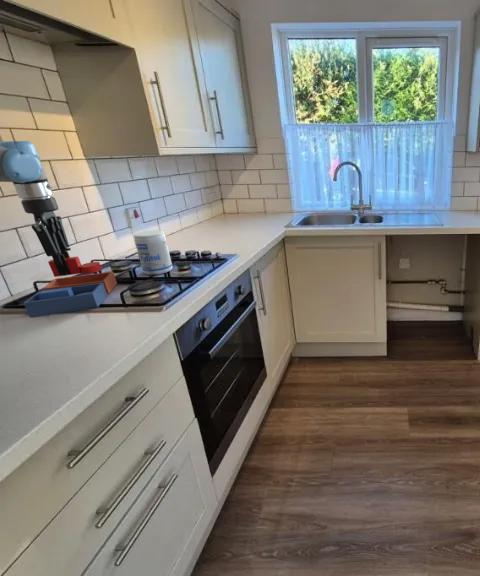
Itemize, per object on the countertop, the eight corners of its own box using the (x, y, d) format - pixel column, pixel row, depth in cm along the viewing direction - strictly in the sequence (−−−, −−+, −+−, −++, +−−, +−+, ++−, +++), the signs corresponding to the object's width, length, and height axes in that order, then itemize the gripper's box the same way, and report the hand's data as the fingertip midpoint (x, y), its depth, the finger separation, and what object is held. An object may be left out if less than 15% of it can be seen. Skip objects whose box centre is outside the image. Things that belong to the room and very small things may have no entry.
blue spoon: (42, 311, 104) (35, 295, 102) (50, 304, 109) (44, 289, 107) (92, 304, 108) (86, 288, 106) (98, 297, 113) (93, 282, 111)
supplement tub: (142, 277, 130) (130, 237, 124) (145, 269, 137) (134, 231, 132) (173, 272, 133) (162, 233, 128) (174, 265, 141) (164, 228, 136)
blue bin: (29, 317, 102) (23, 303, 100) (44, 304, 110) (39, 291, 108) (97, 307, 107) (92, 293, 105) (107, 295, 115) (102, 282, 113)
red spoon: (52, 278, 112) (45, 263, 110) (59, 273, 116) (53, 258, 114) (98, 272, 115) (93, 257, 113) (104, 267, 120) (98, 252, 118)
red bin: (47, 302, 112) (41, 288, 110) (60, 291, 119) (55, 278, 118) (109, 293, 117) (104, 280, 115) (117, 283, 125) (113, 271, 123)
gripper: (40, 201, 100) (72, 279, 109) (64, 193, 113) (90, 264, 122) (6, 203, 97) (41, 283, 107) (34, 195, 111) (63, 267, 120)
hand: (67, 272), depth 115 cm, fingers closed on red spoon, 2 cm apart
